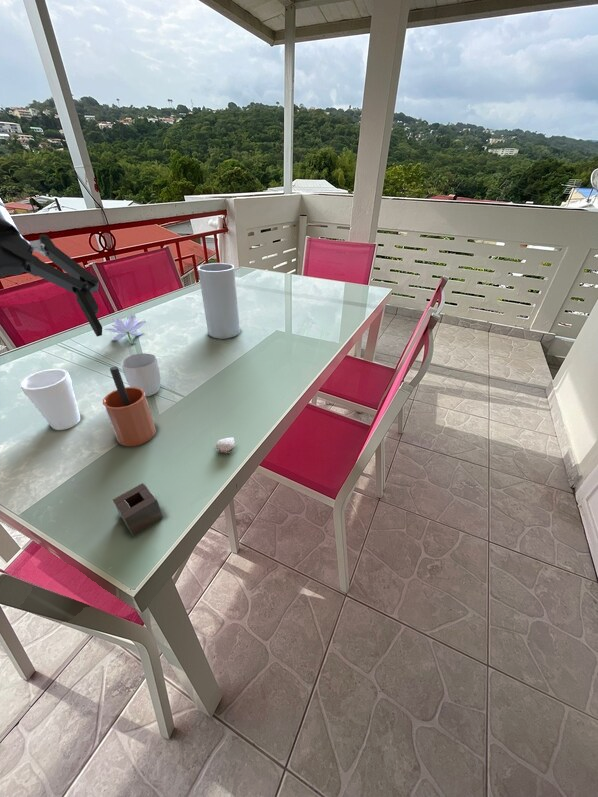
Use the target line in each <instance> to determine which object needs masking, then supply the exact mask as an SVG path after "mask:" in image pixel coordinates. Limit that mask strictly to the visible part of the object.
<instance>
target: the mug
mask: <svg viewBox="0 0 598 797" xmlns="http://www.w3.org/2000/svg"><path fill="white" fill-rule="evenodd" d="M120 365H121V370H122V372H123V375H124V377H125V381H126V383H127V385H128V387H137V388H141V389H142V390H143V391H144V392H145V395H146V397H151V396H153V395H156V394H157V393H158V392H159V391H160V389H161V383H162V381H161V379H162V378H161V371H160V370H161V369H160V366H159V363H158V358H157V357H156V356H155V355H154V354H152V353H145V352H144V353H135V354H132V355H129V356H127V357H125V358H124V359H123V360H122V361H121V364H120Z"/></svg>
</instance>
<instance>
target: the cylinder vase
mask: <svg viewBox="0 0 598 797" xmlns="http://www.w3.org/2000/svg"><path fill="white" fill-rule="evenodd" d="M197 271H198V278H199V284H200V290H201V297H202V304H203V309H204V316H205V322H206V329H207V334H208V335H209V336H210V337H211V338H214V339H221V340H225V339H231V338H234V337H237V336H238V335H239V334H240V332H241V326H240V315H239V306H238V294H237V285H236V274H235V266H234V265H233V264H231V263H225V262H213V263H205V264H201V265H199V266H198V267H197Z"/></svg>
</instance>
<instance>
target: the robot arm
mask: <svg viewBox="0 0 598 797" xmlns="http://www.w3.org/2000/svg"><path fill="white" fill-rule="evenodd" d="M34 252H37V253H39V254H40V255H41V256H42V257H47V258H48V259H49V260H50V262H52V263H53V264H54V265H56V266H57V267H59V268H56V267H54V266H53V265H51V264H48V263H46V262H44V261H42V260H41V259H40V258H39V257H38V256H36V255H35V254H33V253H34ZM60 269H61V270H60ZM24 272H26V273H27V274H29V275H31V276H34V277H39V278H41V279H43V280H46V281H47V282H49V283H51V284H53V285H56V286H58V287H60V288H61V289H64V290H66V291H68V292H70V293H72V294H74V295H75V296H76V302H77V303H78V304H77V305H78V306H79V307H80V309H81V311H82V312H83V314H84V316H85V318H86V319H87V321H88V323H89V325H90V327H91V329H92V330H93V332H94V334H95V336H96V337H101V336H103V326H102V324H101V322H100V320H99V318H98V317H97V315H98V314H99V305H98V303H97V301H96V299H95V297H94V296H93V293H98V291H99V278H97V277H96V276H95V275H94V274H92V273H91V272H90V271H89V270H87V269H85V268H84V267H83V266H82V265H80V263H78V262H76V261H75V260H74V259H73V258H71V256H69V255H67V254H66V253H65V252H63V251H62V250H61V249H59V248H58V247H57V246H56V244H54V242H53V241H52V239H51V238H50V237H49V236H48V234H47V235H46V234H40V235H39V239H35V240H30V241H29V240H27V239H25V238H24V237H23V236H22V234H21V233H20V231H19V229H18V227H17V226H16V224H15V222H14V220H13V218H12V216H11V215H10V213H9V212H8V210H7V208H6V206H5V204H4V202H3V200H2V199H1V198H0V278H4V277H6V276H7V277H8V276H21V275H23V273H24Z"/></svg>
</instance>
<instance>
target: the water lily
mask: <svg viewBox="0 0 598 797" xmlns="http://www.w3.org/2000/svg"><path fill="white" fill-rule="evenodd" d="M136 319H137V316H136V314H131V316H130V317H128V318H127V319H126V321H124V320H123V319H122V318H121V317H118V318H113V319H112V322H113V323H114V324H112V325H111V326H112V327H113V328H111V327H110V328H109V327H108V328H105V329H104V330H105V331H107V332H111V333H117V334H116V336H113V338H112V341H118V340H121V339H123V338H124V337H125V336H126V335H127V336H128V339H129V341H130V344H131V345H134V341H133V339H132V338H131V337H132V336H141V335H142V334H143V332H142V331H137V330H139V329H140V328H142V327H143V326H144V325H145V324H146V323H147V322H148V321H147V320H142V321H139V320H136ZM138 321H139V322H138Z"/></svg>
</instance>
